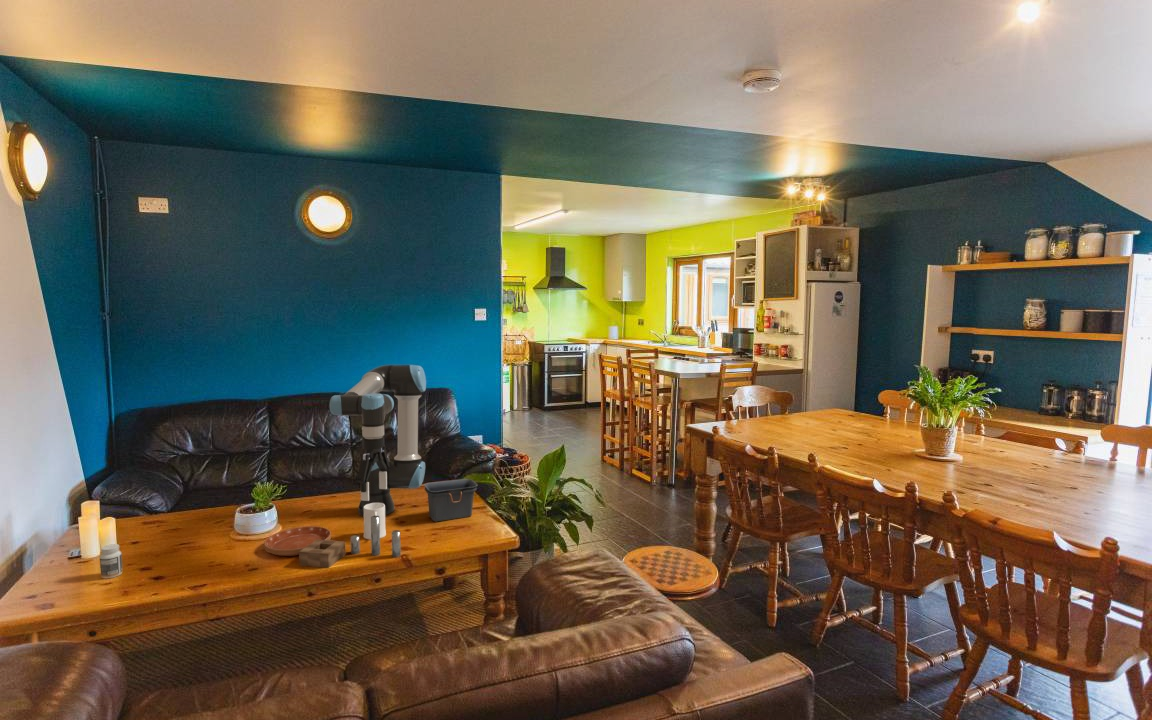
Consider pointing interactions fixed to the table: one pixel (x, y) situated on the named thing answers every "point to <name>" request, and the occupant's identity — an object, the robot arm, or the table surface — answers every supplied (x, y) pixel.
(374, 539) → the long pin
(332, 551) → the socket block
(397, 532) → the medium pin
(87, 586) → the table surface
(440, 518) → the storage bin
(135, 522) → the table surface
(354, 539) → the short pin
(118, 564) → the pill bottle
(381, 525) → the mug
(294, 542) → the saucer
